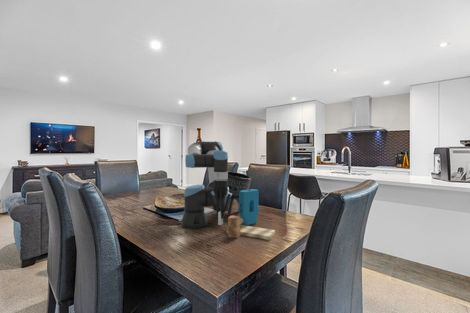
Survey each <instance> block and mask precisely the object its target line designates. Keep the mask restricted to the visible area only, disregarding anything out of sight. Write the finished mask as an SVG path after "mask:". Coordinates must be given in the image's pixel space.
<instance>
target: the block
mask: <svg viewBox="0 0 470 313" xmlns="http://www.w3.org/2000/svg"><path fill="white" fill-rule="evenodd" d="M259 194H260V192H259V189H256V188H255V189H254V188H251V189H248V190H242V191H239V211H238V212H239V213H238V214H239V216H240V219H243V222H242V225H245V226H250V225H255V224H257V221H258V216H259V211H260V210H259V205H260V204H259V199H260V198H259V196H260V195H259Z"/></svg>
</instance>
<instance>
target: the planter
mask: <svg viewBox="0 0 470 313" xmlns="http://www.w3.org/2000/svg"><path fill="white" fill-rule="evenodd" d="M227 181H228V187H229V193H232V196H231V198H230V203H229V207H228V211H227V215H229V216H231V213H232V211H233V210H232V208H233V204H234V202H235V201H236V202H237V206H238V207H237V208H238V210H237V211H238V212H239V191H242V190H250V189H249V188H250V185H251V182H252V177H251V176H249V175H247V174H244V173H240V172H236V171H231V170H230V171H229V170H228V179H227Z"/></svg>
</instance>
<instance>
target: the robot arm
mask: <svg viewBox="0 0 470 313" xmlns="http://www.w3.org/2000/svg"><path fill="white" fill-rule="evenodd" d="M228 152H229V151H227V150H224V147H223V143H222V142H220V141H196V142H194V143H192V144H190V145H189V146H188V148H187V154H185V160H184V161H185V168H190V169H195V168H205V169H206V168H207V169H208V170H207V171H208V180H209V181H208V182H209V183H208V184H207V186H206V187H205V185H204V184H194V185H190V186H187V187H185V189H184V194H183V197H184V211H183V216H182V220H181V222H180V223H181V224H180V225H181V227H182V228H184V229H188V230H196V229H202V228H205V227H206V226H208V219H207V215H206V213H205V208H208V207H209V208H210V207H211V208H213V211H215V212H216V218H217V221H218V222H217V225H218V226H222V225H224V218H225V214H226V212H228V209H229V204H230V200H231V199H230V198H231V196H232V193H229V187H228V181H227V179H228V171H229V170H228V169H229V168H228V166H229V165H228V162H229V154H228Z"/></svg>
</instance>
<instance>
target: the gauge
mask: <svg viewBox="0 0 470 313" xmlns="http://www.w3.org/2000/svg"><path fill="white" fill-rule="evenodd" d="M242 222H243V219H240V215H231V214H230V215H229V216H228V218H227V229H228V233H227V237H228V238H233V239H238V238H240V236H241V235H240V227H242V225H243V224H242Z"/></svg>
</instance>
